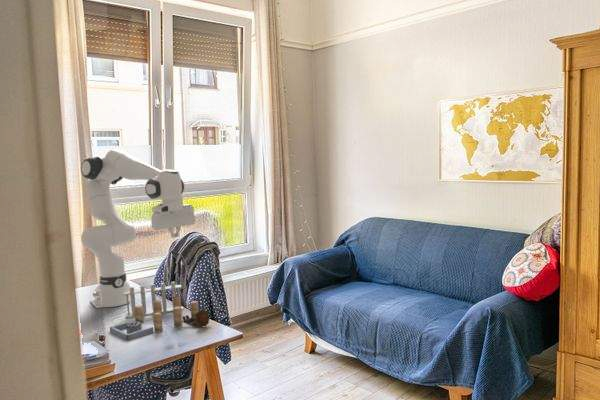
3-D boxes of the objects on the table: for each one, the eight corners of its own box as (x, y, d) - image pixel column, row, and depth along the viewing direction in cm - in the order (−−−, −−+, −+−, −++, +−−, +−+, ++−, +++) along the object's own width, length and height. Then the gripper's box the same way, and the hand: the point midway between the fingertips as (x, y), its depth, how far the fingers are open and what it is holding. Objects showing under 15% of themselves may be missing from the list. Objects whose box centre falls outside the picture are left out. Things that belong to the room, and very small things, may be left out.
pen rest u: (110, 332, 195) (109, 327, 195) (135, 324, 203) (135, 319, 203) (127, 340, 185) (126, 335, 185) (153, 332, 193) (153, 327, 193)
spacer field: (134, 323, 205) (132, 307, 204) (177, 310, 220) (176, 295, 219) (156, 332, 192) (155, 315, 191) (201, 318, 207) (200, 302, 206)
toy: (193, 308, 209) (212, 306, 198) (197, 324, 208) (216, 324, 198) (174, 313, 202) (193, 312, 191) (177, 331, 201) (196, 330, 191)
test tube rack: (125, 318, 212) (122, 289, 211) (125, 315, 216) (123, 287, 215) (183, 310, 219) (181, 282, 218) (182, 307, 224) (180, 279, 222)
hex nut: (125, 331, 195) (124, 324, 195) (136, 328, 199) (135, 320, 198) (131, 335, 191) (131, 327, 191) (143, 331, 195) (142, 323, 194)
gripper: (189, 203, 222) (191, 233, 224) (148, 208, 208) (151, 240, 209) (196, 204, 218) (199, 234, 219) (155, 209, 204) (158, 241, 205)
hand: (175, 237), depth 214 cm, fingers closed
